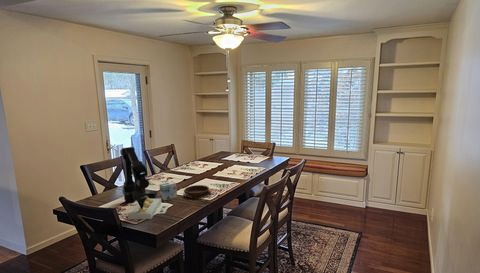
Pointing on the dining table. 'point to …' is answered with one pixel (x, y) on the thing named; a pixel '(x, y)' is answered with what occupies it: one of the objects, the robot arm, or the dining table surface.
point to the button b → (146, 204)
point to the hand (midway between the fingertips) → (142, 208)
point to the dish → (197, 191)
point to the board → (148, 213)
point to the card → (162, 210)
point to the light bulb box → (168, 190)
